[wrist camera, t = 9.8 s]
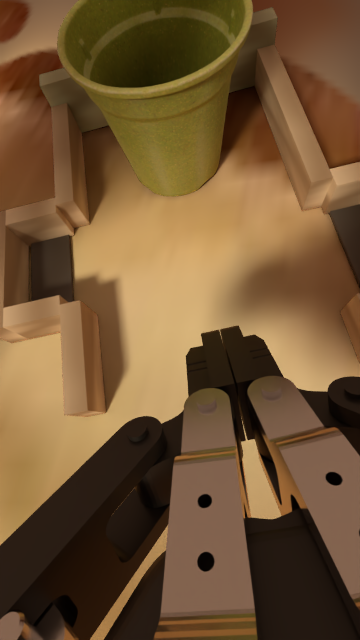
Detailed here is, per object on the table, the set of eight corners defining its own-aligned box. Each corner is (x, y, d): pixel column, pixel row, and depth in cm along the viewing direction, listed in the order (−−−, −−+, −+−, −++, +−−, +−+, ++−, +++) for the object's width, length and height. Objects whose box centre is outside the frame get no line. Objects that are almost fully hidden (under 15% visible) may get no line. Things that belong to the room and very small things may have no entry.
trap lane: (10, 431, 18) (-47, 432, 15) (14, 140, 26) (-21, 92, 23) (474, 341, 16) (548, 314, 12) (325, 54, 24) (343, -14, 20)
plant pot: (238, 106, 24) (242, -60, 16) (250, 210, 21) (264, 69, 13) (118, 125, 25) (66, -20, 17) (113, 225, 22) (46, 106, 14)
